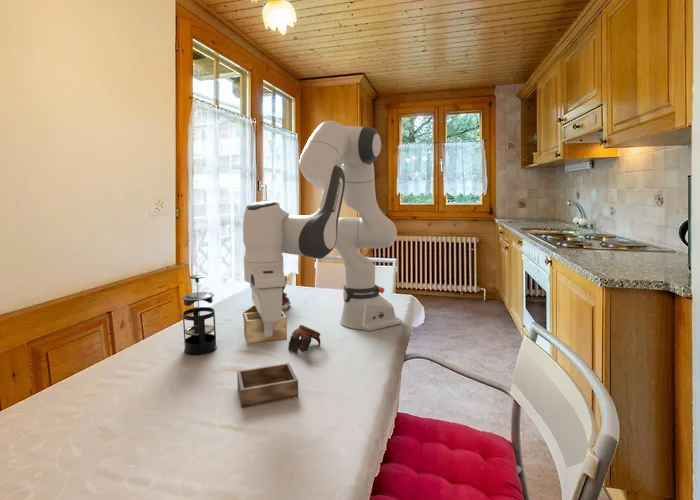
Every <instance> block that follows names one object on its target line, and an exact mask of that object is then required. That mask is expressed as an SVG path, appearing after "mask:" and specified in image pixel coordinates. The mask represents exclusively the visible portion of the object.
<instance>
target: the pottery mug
mask: <svg viewBox="0 0 700 500" xmlns="http://www.w3.org/2000/svg"><path fill="white" fill-rule="evenodd" d="M320 336H321V333H320V332H319V331H316V330H315V329H312V328H310V327H307V326H305V325H303V324H299V326H298V328H296V329H295V330H293V332H292V333H291V336H290V337H289V338H290V339H289V341H288V346H287V349H288V350H289V351H290V352H292V353H294V354H295V355H298V353H299V351H300V352H301V353H306V352H308V350H309V347H310V345H311V343H312V339H314V340H316V342H317V343H318V344H317V348H320V346H321V338H320Z"/></svg>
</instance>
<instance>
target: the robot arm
mask: <svg viewBox="0 0 700 500" xmlns="http://www.w3.org/2000/svg"><path fill="white" fill-rule="evenodd" d="M381 149H382V140H381V135H380V133H379V131H378V130H377V129H376V128H375V127H370V126H354V125H343V124H342V123H340V122H339V121H338V122H337V121H335V120H325V121H323V122H321V123H320V124H319V125H318V126H317V127H316V129H315V130H314V131H313V133H312V134H311V136H310V137H309V138H308V140H307V142H306V144H305V146H304V148H303V150H302V153H301V154H300V157H299V162H298V165H299V169H300V173H301V175H302V176H303V178H305V180H306V181H307V182H308V183H309V184H311V185H312V186H314V187H316V188H319V189H321V190H322V192H321V198H320V201H319V205H318V209H317V211H316V212H315V213H313V214H310V215H309V214H308V215H302V214H301V215H299V214H290V213H289V212H287V211H285V210H284V209H282V208H281V206H280V202H278V201H275V200H261V201H260V200H258V201H255V202H252V203H249V204H248V205H247V206H246V207H245V210H244V214H243V223H242V240H243V242H242V243H243V244H244V248H245V250H244V251H245V252H244V257H243V274H244V276H243V277H244V279H243V280H244V282H246V283H249V284H250V285H249V287H250V288H251V300H252V302H253V305H255V307H256V309H257V311H258V313H259V315H260V317H261V319H262V321H263V323H264V327H263V330H264V335H265V336H266V337H268V336H272V328H273V324H274V323H278V322H280V319H281V313H282V311H283V310H282V294H283V293H282V287H283V286H285V285H286V283H285V277H286V276H285V272H284V255H283V254H288V255H294V256H295V255H296V256H304V257H309V258H314V259H318V260H320V259H324V258H326V256H328V255H329V254H330V253H331V252H332V251H333V250H334V249H335V250H336V251H337V253H338V254H339V256H340V257H341V260H342V262H343V263H342V264H343V270H344V284H343V294H342V296H343V309H342V313H341V318H340V321H339V322H340V324H341V325H342V326H343V327H346V328H349V329H355V330H363V331H365V332H366V331H368V332H370V331H375V330H379V329H384V328H387V327H388V328H389V327H392V326H396V325H401V324H400V323H402V321H401V318H400V317H399V316H398V315H396V313H395V309H394V306H393V304H392V303H391V302H390V301H388V299H386V298H385V297H383V296H382V295H381V294H384V293H385V291H386V290H385V288H384V287H382V286H379V285H376V266H375V263H374V262H373V260H371V259H369V258H368V257H366V256H364V255H362V253H361V251H360V249H377V250H378V249H383V248H384V249H385V248H391V246H393V244H394V243H395V241H396V239H397V235H398V231H397V230H398V229H397V227H396V224H395V223H394V222H393V220H391V219H389V218H388V217H387V216H386V214H384V212H383V211H382V210H381V208H380V207H379V205H378V201H377V196H376V194H377V193H376V181H375V179H376V178H375V176H376V175H375V165H374V163H375V161H376V160H377V159H378V158H379V156H380V154H381ZM343 202H344V204H345V205H346V207H348V208H349V209H351V210H354V211H355V212H357V214H358V215H359V216H360V217H359V216H358V217H354V216H350V217H349V216H341V217H340V212H341V209H342V203H343ZM284 276H285V277H284Z"/></svg>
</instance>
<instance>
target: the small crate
mask: <svg viewBox="0 0 700 500" xmlns="http://www.w3.org/2000/svg"><path fill="white" fill-rule="evenodd" d="M284 312H285V311H284V310H282V313H281V319H280V322H278V323H274V324H273V328H272V336H268V337H266V336H265V335H264V330H263V327H264V323H263V321H262V319H261V317H260V315H259V313H258V312H253V313H244V318H243V332H244V333H243V336H244V339H245V342H246V345H247V346H248V345H257V344H265V343H271V342H278V341H279V342H281V341H287V340H288V327H287V326H288V316H286V314H285V313H284Z"/></svg>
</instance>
